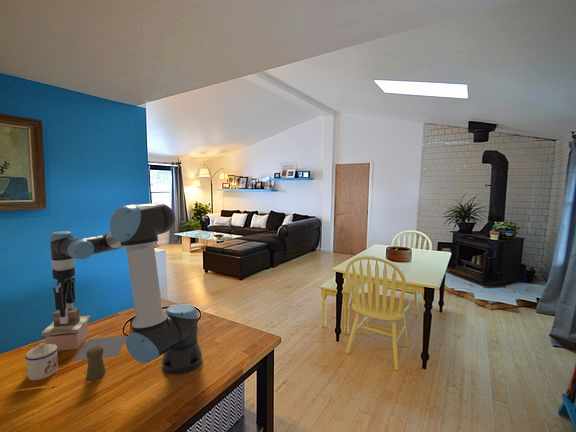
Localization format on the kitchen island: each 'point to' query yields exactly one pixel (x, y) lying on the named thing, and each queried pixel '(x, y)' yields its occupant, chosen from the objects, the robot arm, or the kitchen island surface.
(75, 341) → the pink open box
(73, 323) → the lid
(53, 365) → the white lidded canister
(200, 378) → the kitchen island surface
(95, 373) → the olive green rounded column
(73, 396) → the kitchen island surface
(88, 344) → the mat
